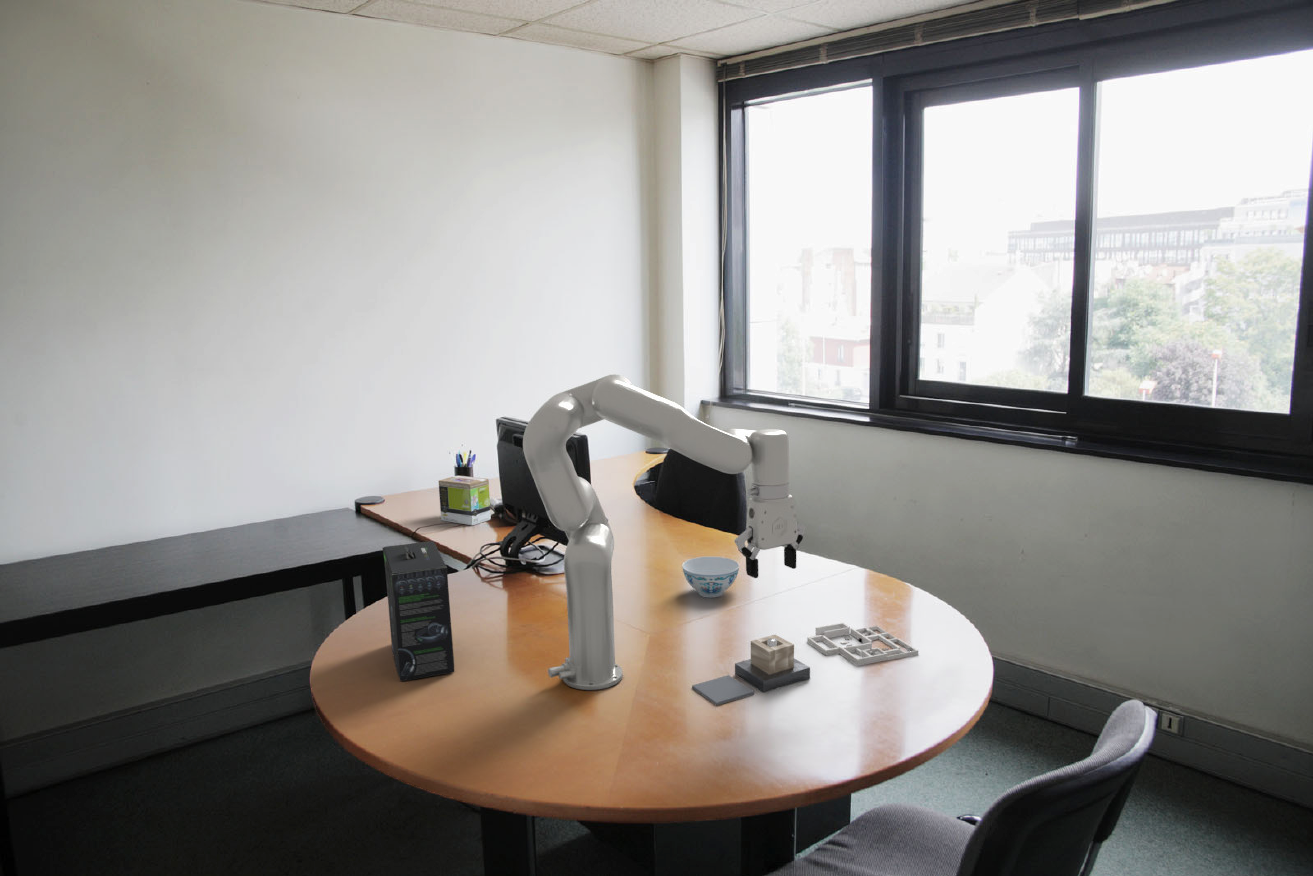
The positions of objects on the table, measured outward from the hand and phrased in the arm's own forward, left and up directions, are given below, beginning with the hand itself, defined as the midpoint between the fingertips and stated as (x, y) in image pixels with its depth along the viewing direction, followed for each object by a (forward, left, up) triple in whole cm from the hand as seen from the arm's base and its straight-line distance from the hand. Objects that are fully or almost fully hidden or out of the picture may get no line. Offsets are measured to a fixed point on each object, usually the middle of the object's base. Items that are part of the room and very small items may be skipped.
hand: (771, 571), depth 188 cm
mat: (-13, 0, -23) cm, 26 cm away
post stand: (0, 0, -23) cm, 23 cm away
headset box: (-60, +50, -23) cm, 81 cm away
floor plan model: (+23, +3, -24) cm, 33 cm away
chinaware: (+17, +49, -23) cm, 57 cm away
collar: (0, 0, -20) cm, 20 cm away
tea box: (-14, +157, -23) cm, 159 cm away
